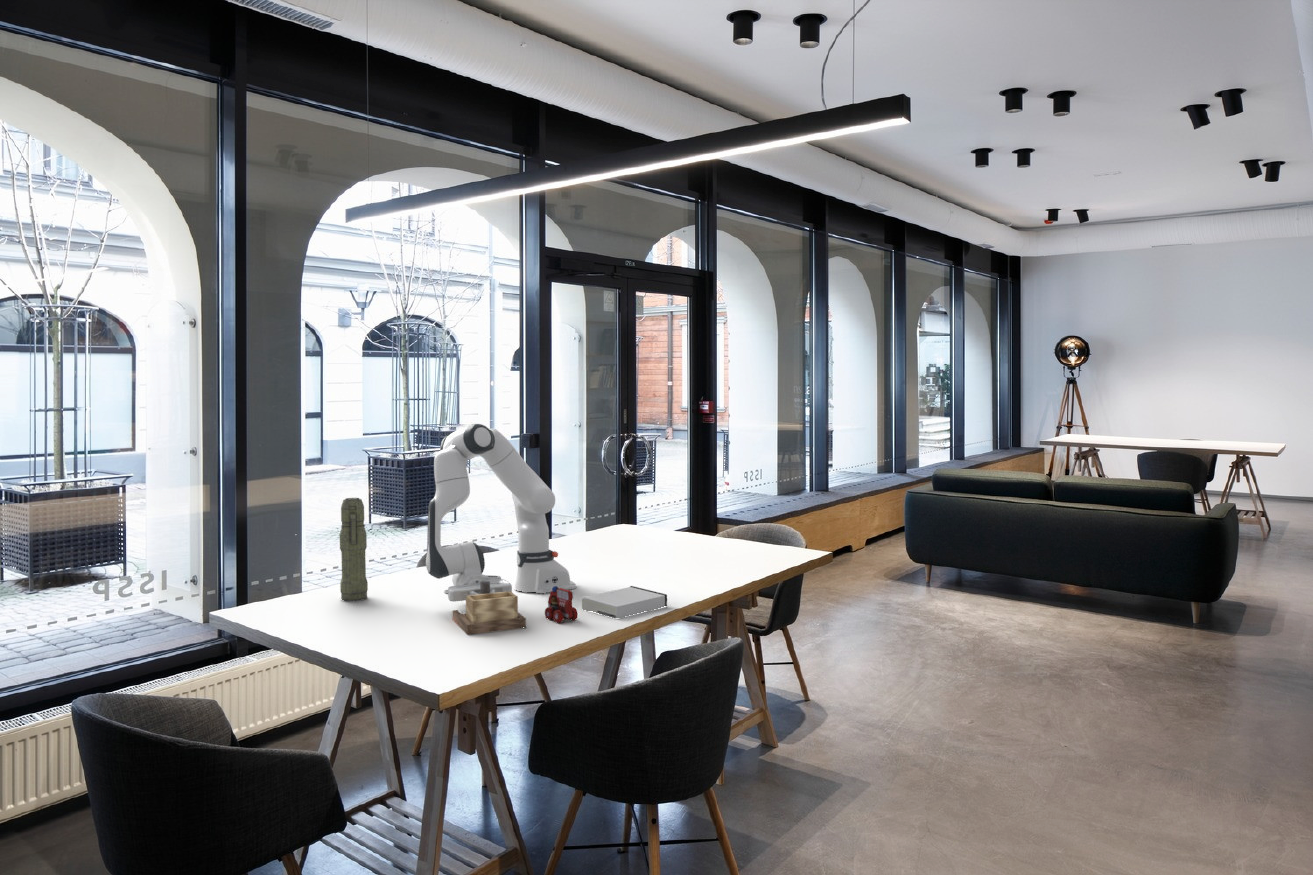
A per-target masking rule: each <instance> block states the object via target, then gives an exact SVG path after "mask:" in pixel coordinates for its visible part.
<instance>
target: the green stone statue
mask: <svg viewBox="0 0 1313 875" xmlns="http://www.w3.org/2000/svg"><path fill="white" fill-rule="evenodd" d="M341 503H342V504H341V506H340V520H341V525H340V527H341V529H340V531H339V549H340V551H341V552H340V553H341V554H340V555H341V579H340V584H339V585H340V586H339V587H340V588H339V590H340V594H341V595H340V596H341V597H340V600H341V599H342V600H344V601H343V602H360V601H364V600H366V598H367V599H368V591H369V588H368V587H369V586H368V579H367V577H366V576H367V573H366V571H367V569H366V549H367V547H368V545H367V544H368V543H367V542H368V541H367V539H368V538H367V530H366V528H365V506H364V502H363V500H362V498H359V497H348V498H347V497H346V498H345V499H343V500H342V502H341ZM342 600H341V601H342Z"/></svg>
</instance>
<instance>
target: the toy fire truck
mask: <svg viewBox="0 0 1313 875" xmlns="http://www.w3.org/2000/svg"><path fill="white" fill-rule="evenodd" d="M573 599H574V595H573V591H572V590H570V589H569V590H566V589H562V588H558V587H557V586H554V587H553V588H552V591H551V592H550V593H549V597H548V600H547V607H546V608H545V610H544V615H545V619H547V618H548V619H552V620H553V621H554V623H556V622H557V623H556V624H561V623H563V622H564V620H567V619H568V620H570V619H572V620H571V621H576V620H577V619H578V616H579V615H578V614H579V613H578V610H577V609H576V607H574V606H573ZM548 619H547V620H548ZM575 619H576V620H575Z"/></svg>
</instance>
